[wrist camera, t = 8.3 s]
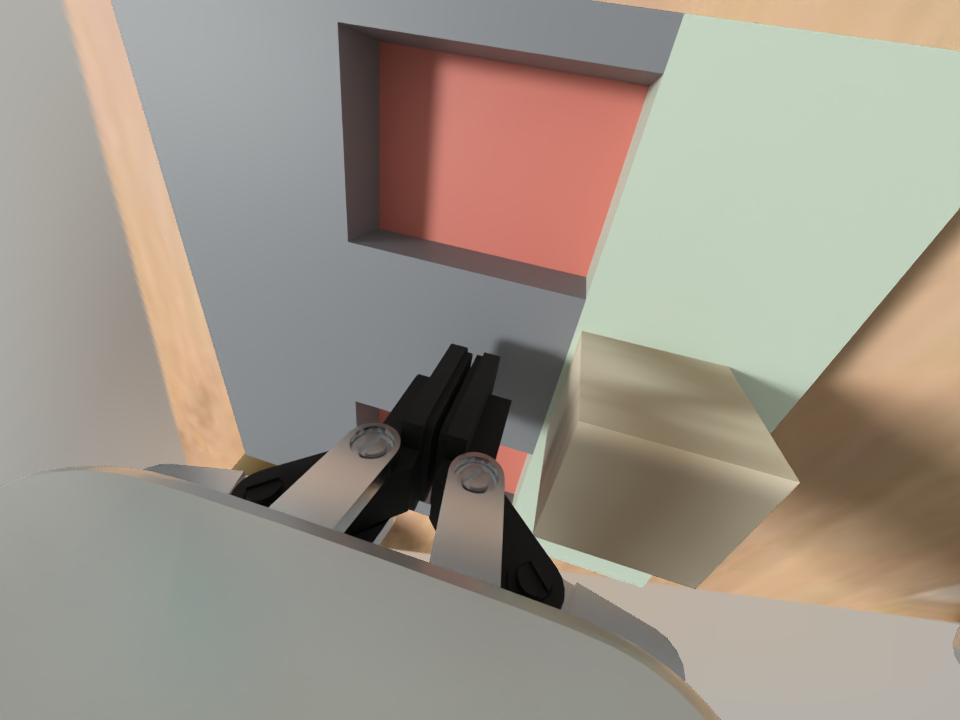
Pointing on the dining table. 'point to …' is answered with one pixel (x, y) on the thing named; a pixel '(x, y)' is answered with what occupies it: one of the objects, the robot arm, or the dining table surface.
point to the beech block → (655, 462)
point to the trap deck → (530, 198)
